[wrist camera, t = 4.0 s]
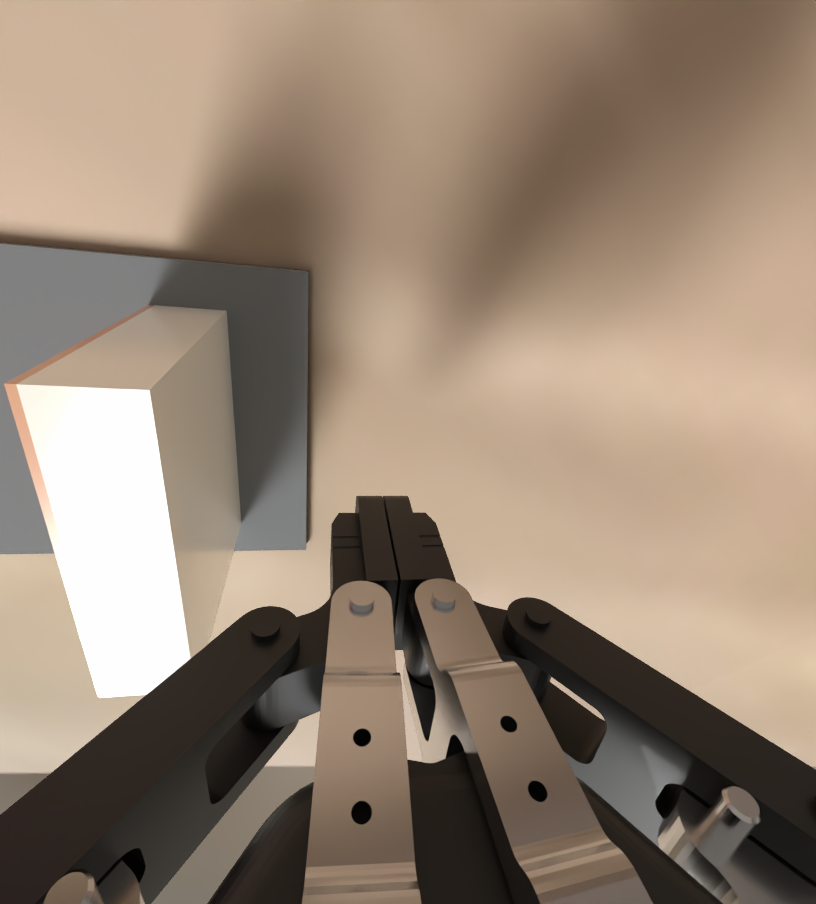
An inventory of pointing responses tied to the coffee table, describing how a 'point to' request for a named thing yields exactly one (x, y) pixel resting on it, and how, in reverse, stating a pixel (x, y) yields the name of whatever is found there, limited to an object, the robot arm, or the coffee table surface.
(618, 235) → the coffee table surface
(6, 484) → the mat
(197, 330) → the tile
